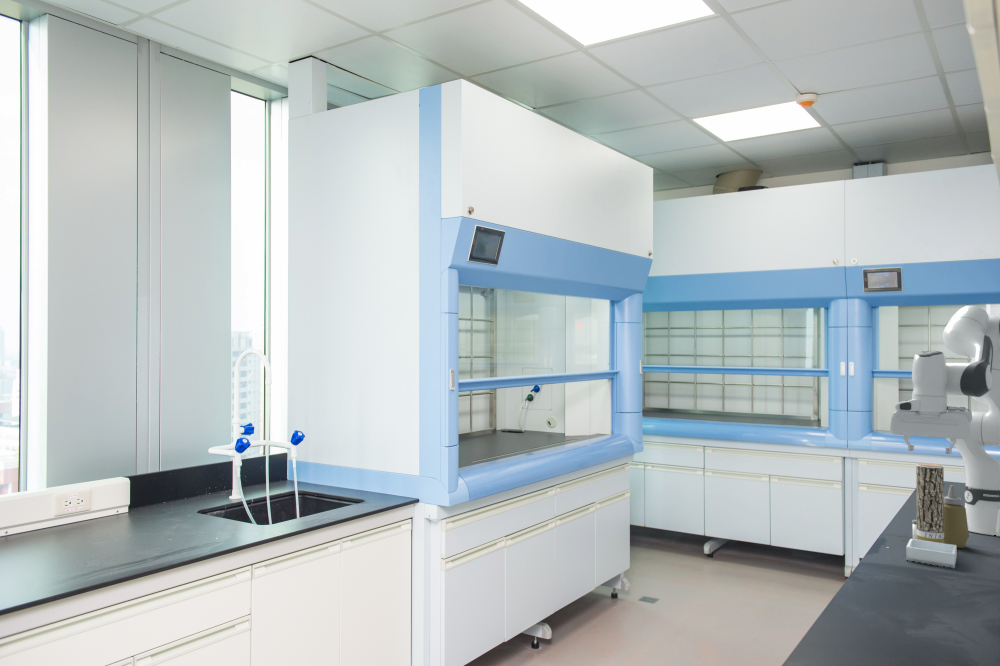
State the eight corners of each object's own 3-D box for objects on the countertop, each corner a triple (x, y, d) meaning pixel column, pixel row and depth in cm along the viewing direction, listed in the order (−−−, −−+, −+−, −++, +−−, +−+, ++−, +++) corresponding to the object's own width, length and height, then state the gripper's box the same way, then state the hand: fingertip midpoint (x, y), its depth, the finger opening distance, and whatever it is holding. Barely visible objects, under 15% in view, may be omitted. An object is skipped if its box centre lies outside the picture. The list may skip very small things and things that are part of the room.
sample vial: (920, 539, 214) (920, 519, 214) (926, 541, 211) (926, 522, 211) (910, 538, 214) (909, 519, 214) (916, 541, 211) (916, 521, 211)
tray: (910, 551, 199) (910, 538, 199) (956, 558, 192) (956, 545, 192) (906, 560, 190) (906, 546, 190) (954, 568, 183) (954, 554, 183)
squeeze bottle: (974, 550, 201) (973, 488, 202) (943, 548, 203) (943, 487, 204) (961, 543, 209) (961, 484, 210) (932, 541, 211) (932, 482, 212)
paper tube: (911, 547, 204) (911, 462, 205) (933, 546, 205) (932, 462, 206) (927, 553, 197) (927, 466, 198) (949, 553, 198) (949, 466, 199)
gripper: (972, 407, 199) (972, 454, 199) (891, 403, 211) (891, 448, 210) (971, 407, 194) (972, 456, 193) (889, 404, 206) (889, 450, 205)
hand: (929, 452), depth 202 cm, fingers open, 8 cm apart
